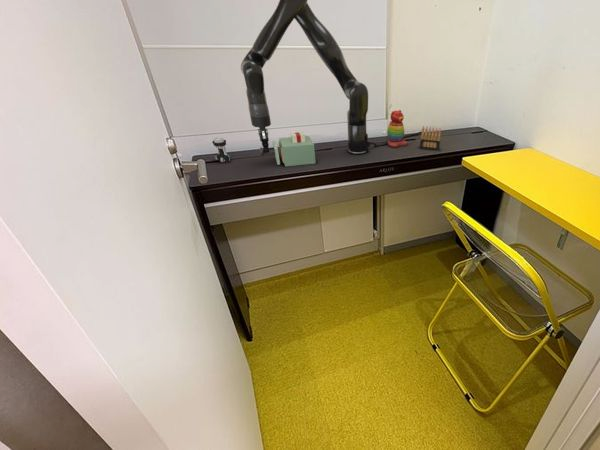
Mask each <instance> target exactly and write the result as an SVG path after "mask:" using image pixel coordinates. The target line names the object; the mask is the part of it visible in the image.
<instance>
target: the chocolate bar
mask: <svg viewBox="0 0 600 450" xmlns="http://www.w3.org/2000/svg"><path fill="white" fill-rule="evenodd" d="M305 136H306V135H305V133H304V132H303V131H299V132H290V137H291V140H292V142H293V143H300V142H306V141H305Z"/></svg>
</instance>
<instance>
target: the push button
mask: <svg viewBox="0 0 600 450" xmlns="http://www.w3.org/2000/svg"><path fill="white" fill-rule="evenodd" d="M212 144H213V146H214V147H216V150H217V155H216V157H215V160H217V161H218V162H222V163H230V161H231V158H230V155H229V154H228V153H227V150H226V149H227V148H226V145H227V140H226V139H224V138H223V137H216V138H214V139H213V140H212Z"/></svg>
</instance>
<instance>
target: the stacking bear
mask: <svg viewBox="0 0 600 450" xmlns="http://www.w3.org/2000/svg"><path fill="white" fill-rule="evenodd" d="M404 118H405V115H404V114H403V112H402V110H400V109H399V110H393V111H391V113H390V122H389V124H388V125H387V130H386V131H387V132H386V134H387V140H386V141H387V142H388V144H387V146H389V147H391V148H398V147H402V146H403V147H405V146H407V145H408V142H407V141H406V139H405V140H404V138H403V137H404V136H405V125H404V123H403V121H404ZM387 142H386V143H387Z"/></svg>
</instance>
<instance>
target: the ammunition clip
mask: <svg viewBox="0 0 600 450" xmlns="http://www.w3.org/2000/svg"><path fill="white" fill-rule="evenodd" d="M421 132H422V133H420V141H419V142H420V143H419V149H422V150H423V149H424V150H431V151H440V144H441V137H442V136H441V135H442V128H441V127H439V129H438V127H436V128H435V127H434V126H433V127H431V126H429V127H428V126H426V127H425V126H424V125H423V126H422V128H421Z"/></svg>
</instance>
